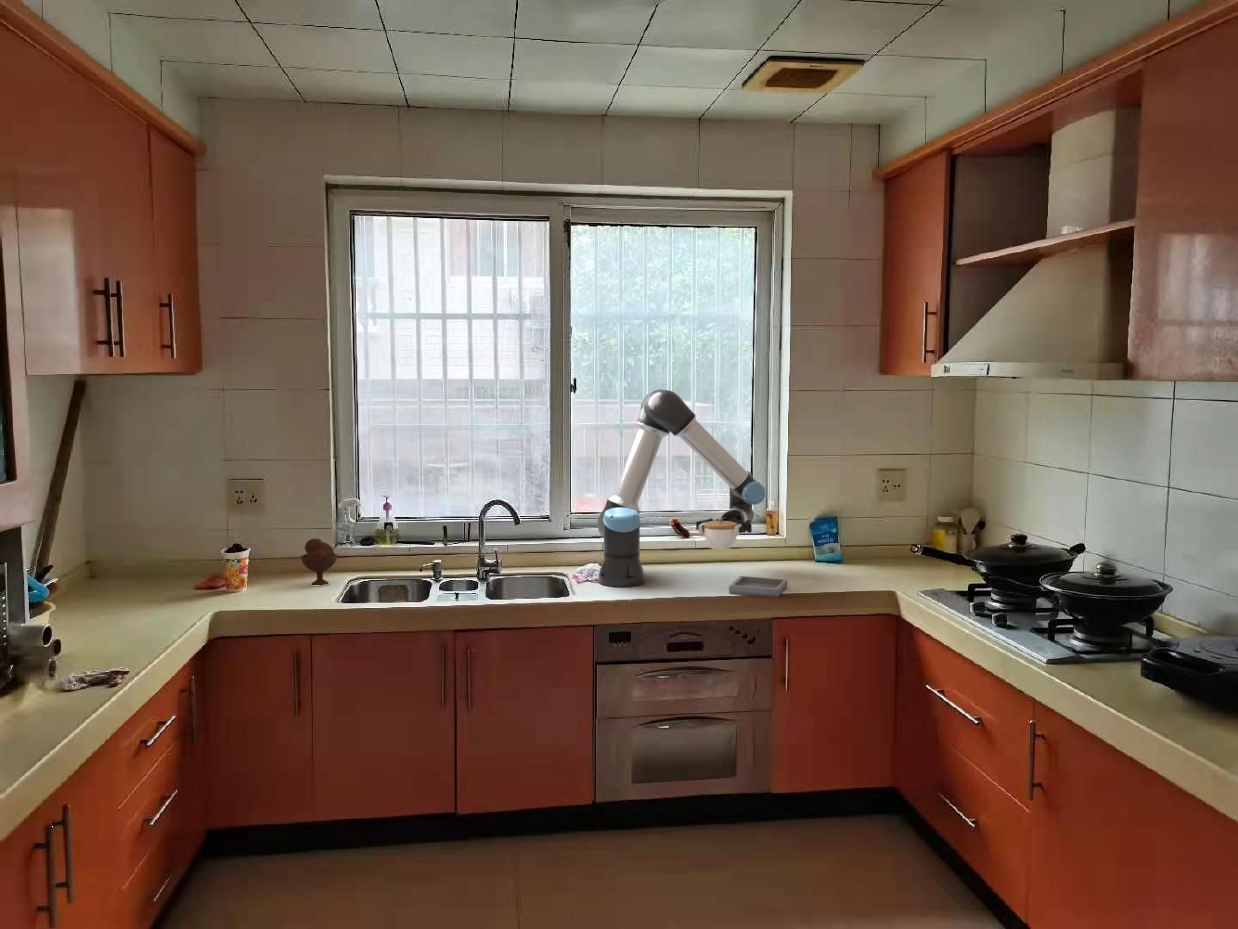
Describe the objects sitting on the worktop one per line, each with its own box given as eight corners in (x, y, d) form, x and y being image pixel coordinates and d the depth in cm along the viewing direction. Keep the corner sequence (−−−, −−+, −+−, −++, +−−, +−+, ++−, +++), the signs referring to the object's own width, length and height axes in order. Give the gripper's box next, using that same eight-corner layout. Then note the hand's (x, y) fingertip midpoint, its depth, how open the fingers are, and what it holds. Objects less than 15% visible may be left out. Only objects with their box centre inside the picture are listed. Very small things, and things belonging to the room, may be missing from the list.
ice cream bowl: (324, 589, 279) (322, 542, 277) (294, 586, 282) (293, 540, 281) (344, 582, 289) (343, 536, 287) (316, 579, 292) (314, 534, 291)
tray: (729, 593, 272) (729, 585, 272) (740, 583, 286) (740, 575, 286) (777, 597, 267) (778, 589, 267) (787, 587, 281) (787, 579, 281)
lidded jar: (736, 544, 286) (736, 515, 285) (738, 551, 275) (738, 520, 274) (703, 544, 287) (703, 515, 286) (703, 550, 276) (703, 520, 275)
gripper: (768, 533, 293) (754, 544, 273) (700, 530, 301) (681, 540, 281) (768, 510, 293) (754, 520, 272) (700, 508, 301) (681, 517, 280)
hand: (717, 530), depth 277 cm, fingers closed on lidded jar, 11 cm apart
